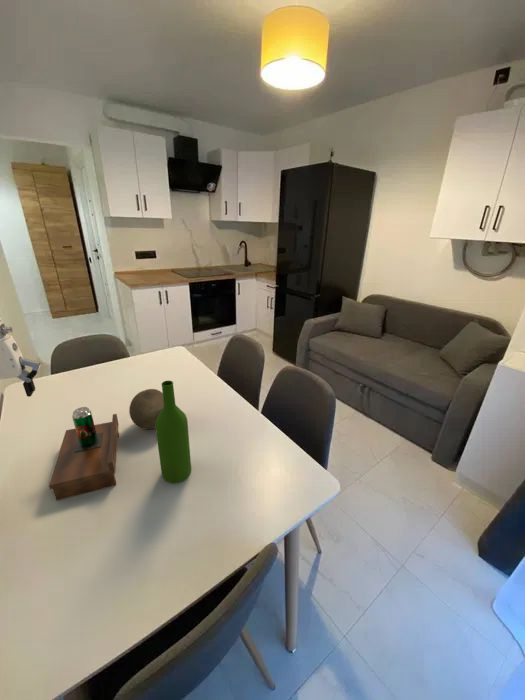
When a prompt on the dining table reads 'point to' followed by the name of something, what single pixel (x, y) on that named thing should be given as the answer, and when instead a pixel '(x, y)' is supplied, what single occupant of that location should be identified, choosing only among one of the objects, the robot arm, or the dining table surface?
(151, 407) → the cantaloupe
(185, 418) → the wine bottle
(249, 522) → the dining table surface
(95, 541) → the dining table surface
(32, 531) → the dining table surface
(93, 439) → the soda can
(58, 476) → the brown wooden box
